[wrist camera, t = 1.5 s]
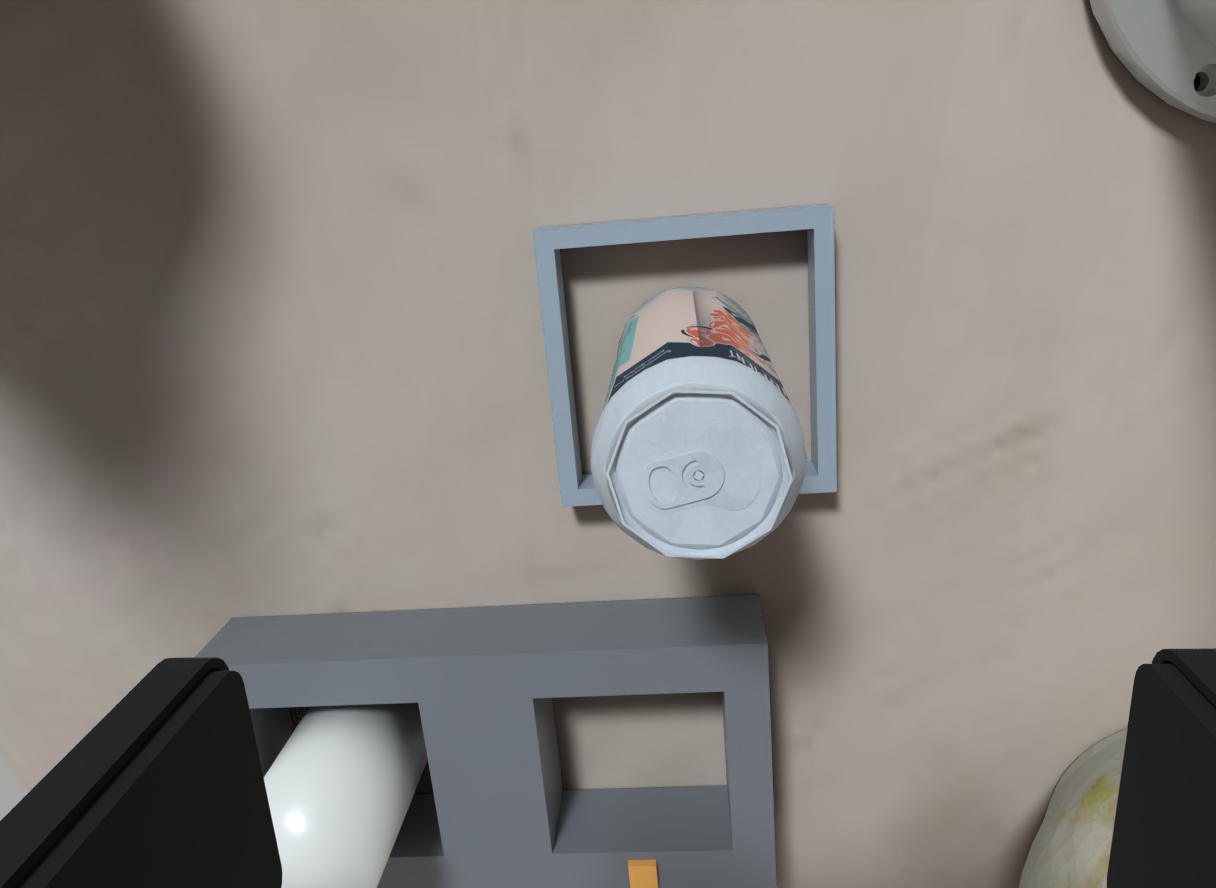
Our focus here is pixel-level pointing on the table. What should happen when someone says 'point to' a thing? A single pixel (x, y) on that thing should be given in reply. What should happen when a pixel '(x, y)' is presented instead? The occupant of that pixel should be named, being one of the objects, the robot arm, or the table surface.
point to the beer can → (696, 430)
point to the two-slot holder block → (501, 744)
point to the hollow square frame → (810, 217)
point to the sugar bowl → (1079, 822)
